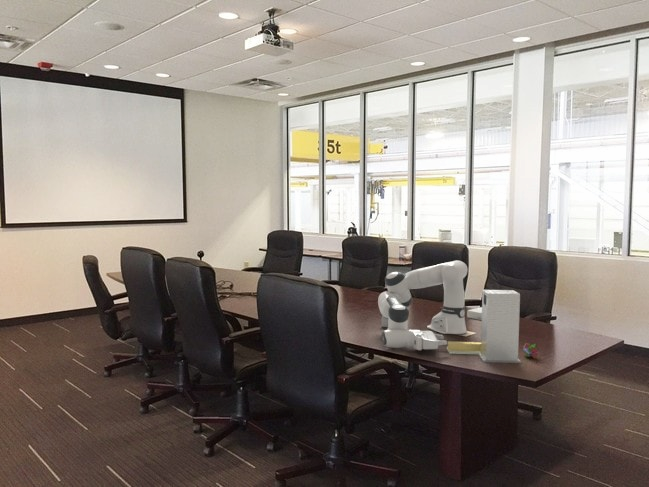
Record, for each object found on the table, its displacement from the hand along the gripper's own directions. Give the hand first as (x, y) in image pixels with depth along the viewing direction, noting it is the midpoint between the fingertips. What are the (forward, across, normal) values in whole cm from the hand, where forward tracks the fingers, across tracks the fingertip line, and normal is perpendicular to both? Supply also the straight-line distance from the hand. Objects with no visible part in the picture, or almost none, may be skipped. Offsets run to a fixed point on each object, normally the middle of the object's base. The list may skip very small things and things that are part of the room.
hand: (445, 339), depth 251 cm
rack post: (+23, +11, -6) cm, 26 cm away
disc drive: (+41, -79, -6) cm, 89 cm away
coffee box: (-24, -45, -3) cm, 51 cm away
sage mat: (+13, 0, -6) cm, 14 cm away
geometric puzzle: (+38, +7, -6) cm, 39 cm away
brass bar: (+11, 0, -5) cm, 12 cm away
